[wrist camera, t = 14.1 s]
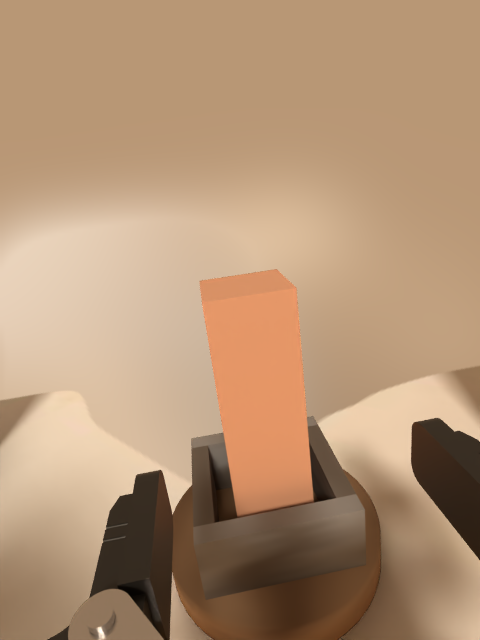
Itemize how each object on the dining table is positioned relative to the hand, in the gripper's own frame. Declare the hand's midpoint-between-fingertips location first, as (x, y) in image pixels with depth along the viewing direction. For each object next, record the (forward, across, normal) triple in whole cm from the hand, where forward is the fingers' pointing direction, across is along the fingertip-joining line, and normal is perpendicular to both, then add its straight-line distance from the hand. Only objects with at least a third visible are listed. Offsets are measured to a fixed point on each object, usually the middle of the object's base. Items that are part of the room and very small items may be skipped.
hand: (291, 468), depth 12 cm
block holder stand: (+8, 0, +12) cm, 14 cm away
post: (+8, 0, +10) cm, 13 cm away
